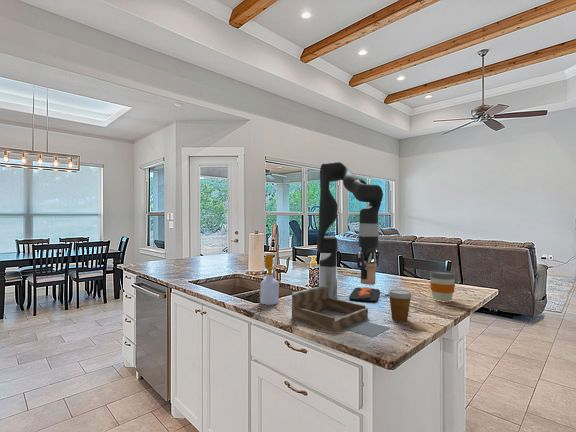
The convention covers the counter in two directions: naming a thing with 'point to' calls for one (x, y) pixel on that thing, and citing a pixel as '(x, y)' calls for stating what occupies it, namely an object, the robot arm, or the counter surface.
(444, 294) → the reusable coffee cup
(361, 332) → the slate mat
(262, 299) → the soap bottle
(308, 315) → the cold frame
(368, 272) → the terracotta pot
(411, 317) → the counter surface
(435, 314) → the counter surface
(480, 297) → the counter surface
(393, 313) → the disposable coffee cup
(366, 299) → the sushi plate
